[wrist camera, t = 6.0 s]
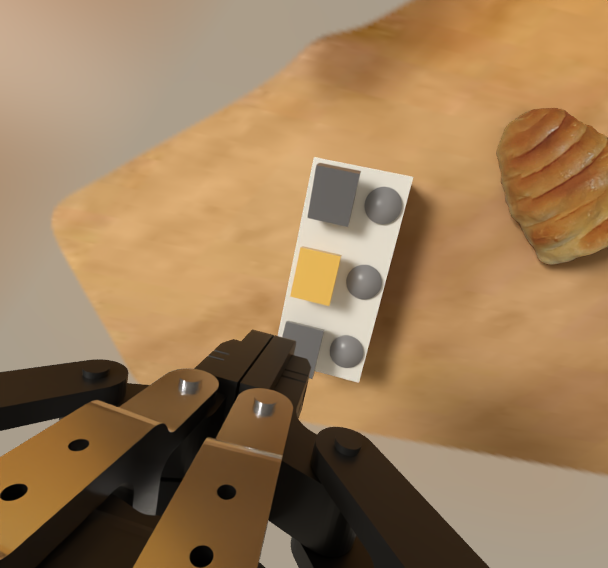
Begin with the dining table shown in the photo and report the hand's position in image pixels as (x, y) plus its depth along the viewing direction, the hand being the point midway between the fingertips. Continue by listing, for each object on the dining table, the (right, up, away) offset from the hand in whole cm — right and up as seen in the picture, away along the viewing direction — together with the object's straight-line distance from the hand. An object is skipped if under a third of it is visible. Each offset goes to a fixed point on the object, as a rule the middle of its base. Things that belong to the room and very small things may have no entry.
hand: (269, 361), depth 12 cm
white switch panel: (+4, +4, +15) cm, 16 cm away
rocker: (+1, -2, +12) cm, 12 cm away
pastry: (+17, +8, +12) cm, 23 cm away
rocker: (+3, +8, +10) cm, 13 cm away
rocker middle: (+2, +3, +11) cm, 12 cm away
